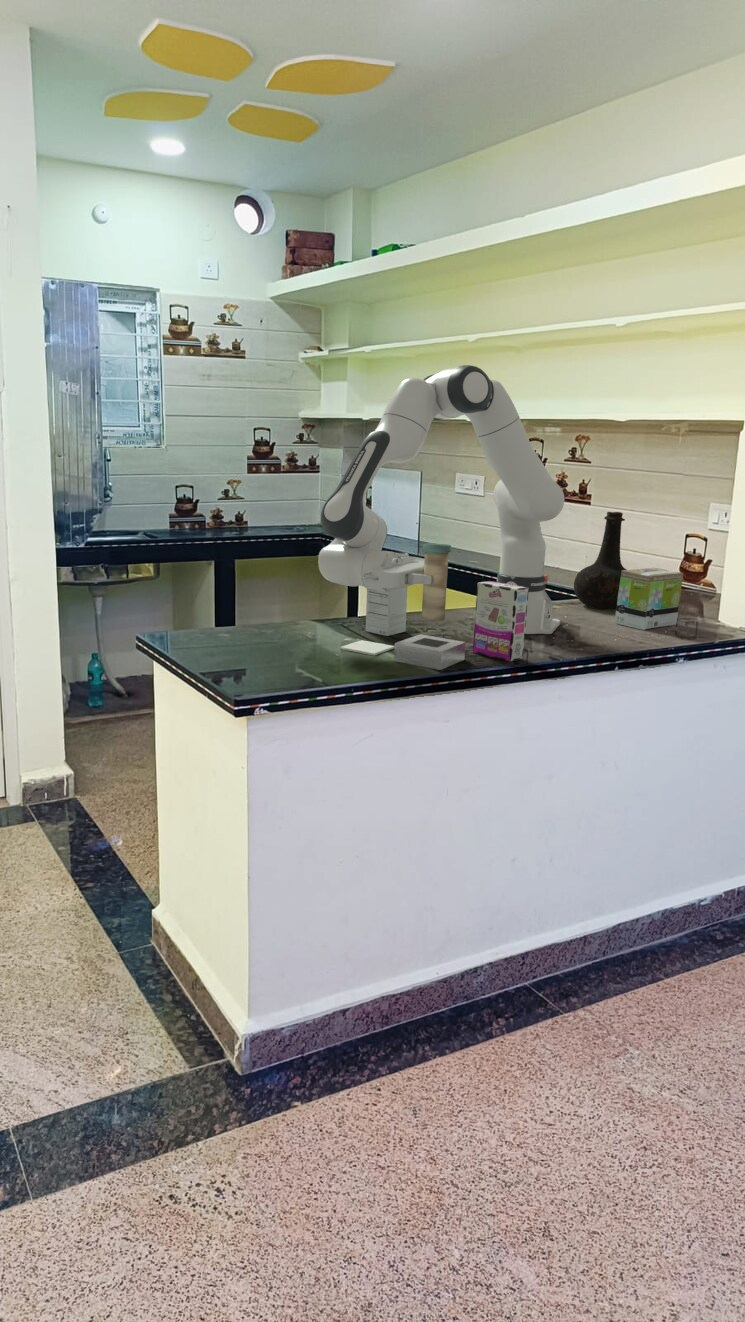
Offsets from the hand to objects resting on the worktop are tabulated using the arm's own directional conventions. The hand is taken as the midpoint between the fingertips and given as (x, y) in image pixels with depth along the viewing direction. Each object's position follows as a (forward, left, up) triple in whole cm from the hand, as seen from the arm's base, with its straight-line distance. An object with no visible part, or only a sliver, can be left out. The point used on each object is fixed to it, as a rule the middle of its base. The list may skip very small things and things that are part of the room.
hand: (439, 578), depth 197 cm
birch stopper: (0, -1, -9) cm, 9 cm away
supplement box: (-18, -23, -19) cm, 34 cm away
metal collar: (0, -1, -18) cm, 18 cm away
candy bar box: (-14, +9, -19) cm, 25 cm away
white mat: (0, -17, -18) cm, 25 cm away
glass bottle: (-90, +9, -19) cm, 92 cm away
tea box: (-74, +26, -19) cm, 80 cm away
